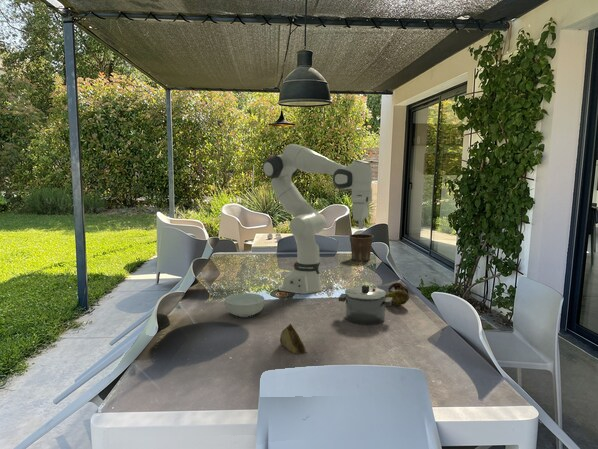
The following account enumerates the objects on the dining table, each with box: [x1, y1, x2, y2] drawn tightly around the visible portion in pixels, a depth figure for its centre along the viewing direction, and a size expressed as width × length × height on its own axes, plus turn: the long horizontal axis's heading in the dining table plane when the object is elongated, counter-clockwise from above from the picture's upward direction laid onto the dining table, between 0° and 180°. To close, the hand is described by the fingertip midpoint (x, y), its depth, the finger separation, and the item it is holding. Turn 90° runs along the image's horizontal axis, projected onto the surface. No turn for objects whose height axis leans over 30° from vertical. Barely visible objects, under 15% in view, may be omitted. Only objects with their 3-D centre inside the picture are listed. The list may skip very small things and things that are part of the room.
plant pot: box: [349, 233, 374, 262], centre depth 299 cm, size 16×16×16 cm
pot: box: [338, 293, 392, 326], centre depth 185 cm, size 21×17×10 cm
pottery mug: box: [387, 282, 410, 297], centre depth 215 cm, size 12×10×8 cm
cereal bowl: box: [224, 292, 265, 318], centre depth 191 cm, size 17×17×7 cm
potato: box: [385, 289, 410, 306], centre depth 201 cm, size 8×13×8 cm, turn 9°
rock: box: [279, 323, 307, 354], centre depth 155 cm, size 11×9×10 cm
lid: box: [344, 284, 387, 300], centre depth 184 cm, size 17×17×3 cm
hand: (361, 228), depth 198 cm, fingers closed
